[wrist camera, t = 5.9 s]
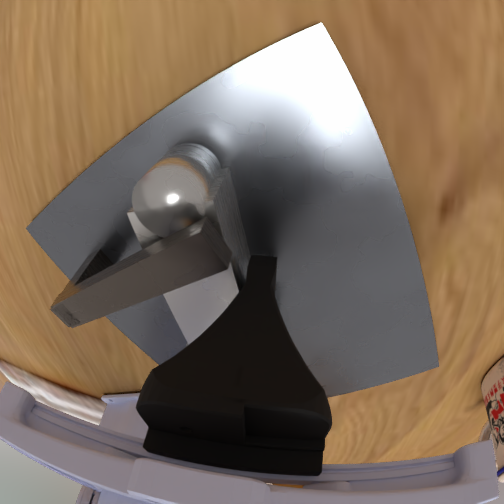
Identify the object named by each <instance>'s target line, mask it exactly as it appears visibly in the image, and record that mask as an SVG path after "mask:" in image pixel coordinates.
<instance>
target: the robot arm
mask: <svg viewBox="0 0 504 504" xmlns="http://www.w3.org/2000/svg"><path fill="white" fill-rule="evenodd" d="M276 273H277V257H272V256H259V255H251V257H250V260H249V263H248V266H247V275H246V282H245V284H244V285H243V287H242V288H241V290H240V291H239V293H238V294H237V295H236V297H235V298H234V299H233V301H232V302H231V303H230V304H229V306H228V307H227V308H226V309H225V310H224V312H223V313H222V314H221V315H220V316H219V317H218V318H217V319H216V320H215V321H214V322H213V323H212V324H211V325H210V326H209V327H208V328H207V329H206V330H205V331H204V332H203V333H202V334H201V335H200V336H199V337H197V338H196V339H195V340H194V341H193V342H191V343H190V344H189V345H188V346H186V347H185V348H184V349H182V350H181V351H180V352H178V353H177V354H176V355H174V356H173V357H171V358H170V359H168V360H167V361H165V362H163V363H162V364H160V365H159V366H157V367H156V368H154V369H152V371H151V372H150V374H149V376H148V377H147V379H146V381H145V383H144V385H143V387H142V389H141V392H140V393H133V394H119V395H103V396H102V398H101V399H102V400H103V401H104V402H105V403H107V406H106V408H105V411H104V414H103V416H102V419H101V422H100V424H99V426H98V425H95V424H92V423H90V422H87V421H84V420H81V419H79V418H76V417H73V416H71V415H68V414H66V413H63V412H61V411H59V410H56V409H54V408H51V407H49V406H47V405H44V404H42V403H40V402H38V401H36V400H35V398H34V397H33V396H32V395H31V394H30V393H28V392H27V391H26V390H24V389H22V388H20V387H18V386H16V385H14V384H12V383H10V382H8V381H7V382H6V383H5V385H4V387H3V388H2V390H1V392H0V439H1V440H2V441H4V442H6V443H7V444H8V445H10V446H11V447H13V448H14V449H16V450H17V451H19V452H20V453H22V454H24V455H26V456H27V457H29V458H31V459H33V460H34V461H36V462H38V463H40V464H41V465H43V466H45V467H47V468H49V469H51V470H53V471H55V472H57V473H59V474H61V475H63V476H65V477H67V478H69V479H71V480H73V481H75V482H78V483H80V484H82V485H83V486H82V488H81V490H80V493H79V495H78V498H77V501H76V504H484V503H487V502H489V501H492V500H494V499H497V498H498V497H499V489H498V478H497V470H496V462H495V456H494V449H493V443H492V440H490V439H489V440H485V441H481V442H476V443H472V444H468V445H465V446H463V447H461V448H459V449H458V450H457V451H455V452H454V453H452V454H447V455H441V456H435V457H428V458H421V459H413V460H404V461H394V462H382V463H366V464H322V461H323V451H324V448H325V437H326V436H327V434H328V432H329V431H330V429H331V426H332V416H331V410H330V406H329V403H328V399H327V396H326V393H325V390H324V389H323V387H322V386H321V385H320V383H319V382H318V381H317V379H316V378H315V376H314V375H313V374H312V372H311V371H310V369H309V368H308V366H307V365H306V363H305V362H304V360H303V358H302V356H301V355H300V353H299V351H298V349H297V348H296V346H295V344H294V342H293V340H292V338H291V336H290V334H289V332H288V330H287V328H286V325H285V323H284V321H283V318H282V316H281V313H280V310H279V307H278V304H277V301H276V298H275V290H276ZM266 483H273V484H288V485H304V486H303V488H294V487H285V486H277V485H269V484H266Z"/></svg>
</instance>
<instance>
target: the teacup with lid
mask: <svg viewBox="0 0 504 504" xmlns="http://www.w3.org/2000/svg"><path fill="white" fill-rule="evenodd" d="M481 391H482V395H483V399H484V402H485V406H486V410H487V415H488V419H489V420H488V421H487V422H486V423H485V425H484V426H483V428H482V430H481V433H480V436H479V441H478V442H481V441H485V440H489V437H490V434H491V433H492V437H493V443H494V448H495V453H496V459H497V460H495V462H496V467H498V471H497V477H498V480H499V481H500V482H504V357H503V358H502V359H501V360H499V361H498V362H497V363H496V364H495V365H494V366H493V367H492V368H491V369H490V371H489V372H488V373H487V375H486V376H485V378H484V380H483V382H482V386H481Z"/></svg>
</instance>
